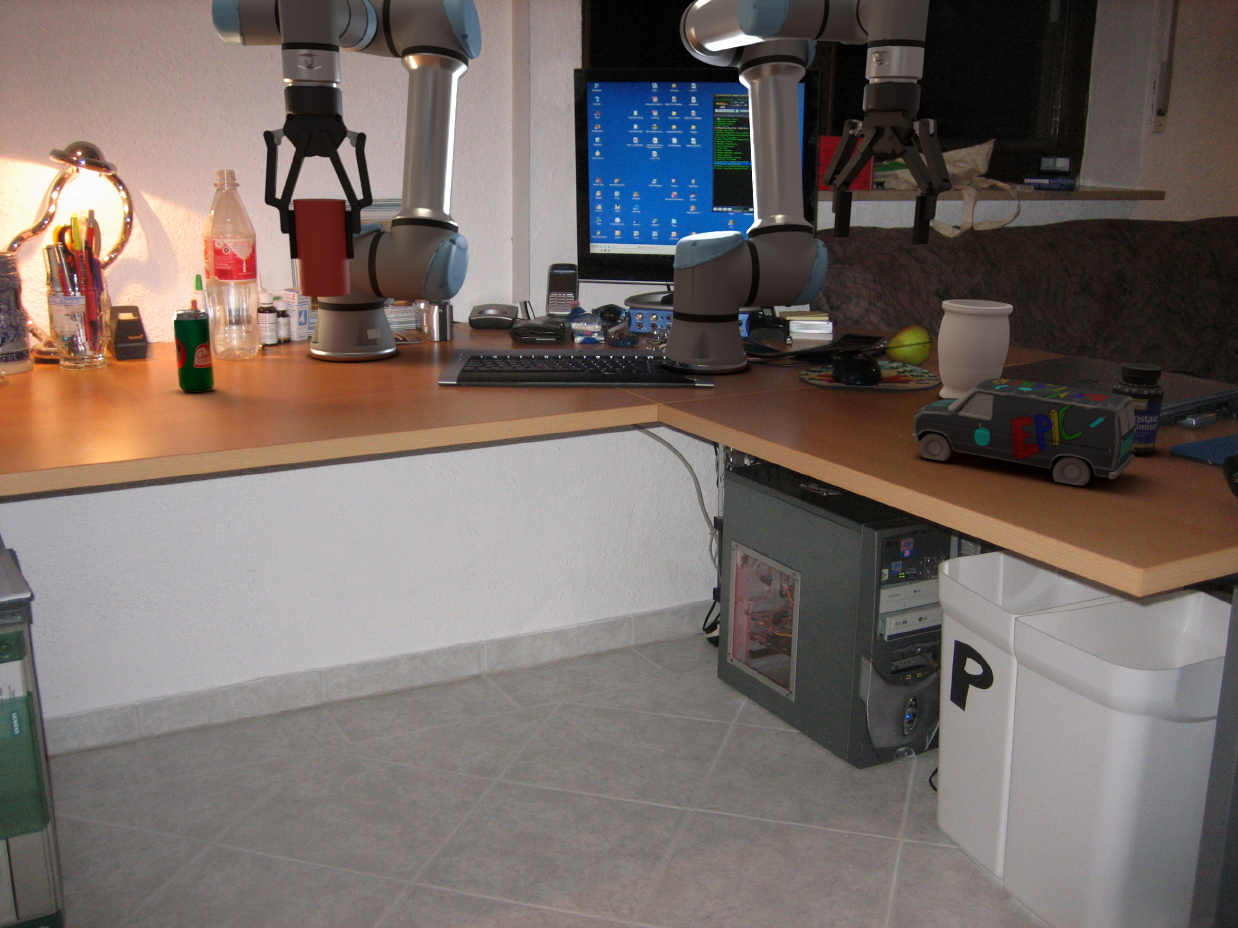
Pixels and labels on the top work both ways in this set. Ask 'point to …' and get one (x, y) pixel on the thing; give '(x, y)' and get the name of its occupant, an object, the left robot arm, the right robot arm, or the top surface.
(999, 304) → the jar
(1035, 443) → the toy van
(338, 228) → the canister
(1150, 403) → the pill bottle
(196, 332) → the soda can
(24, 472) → the top surface
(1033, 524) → the top surface
